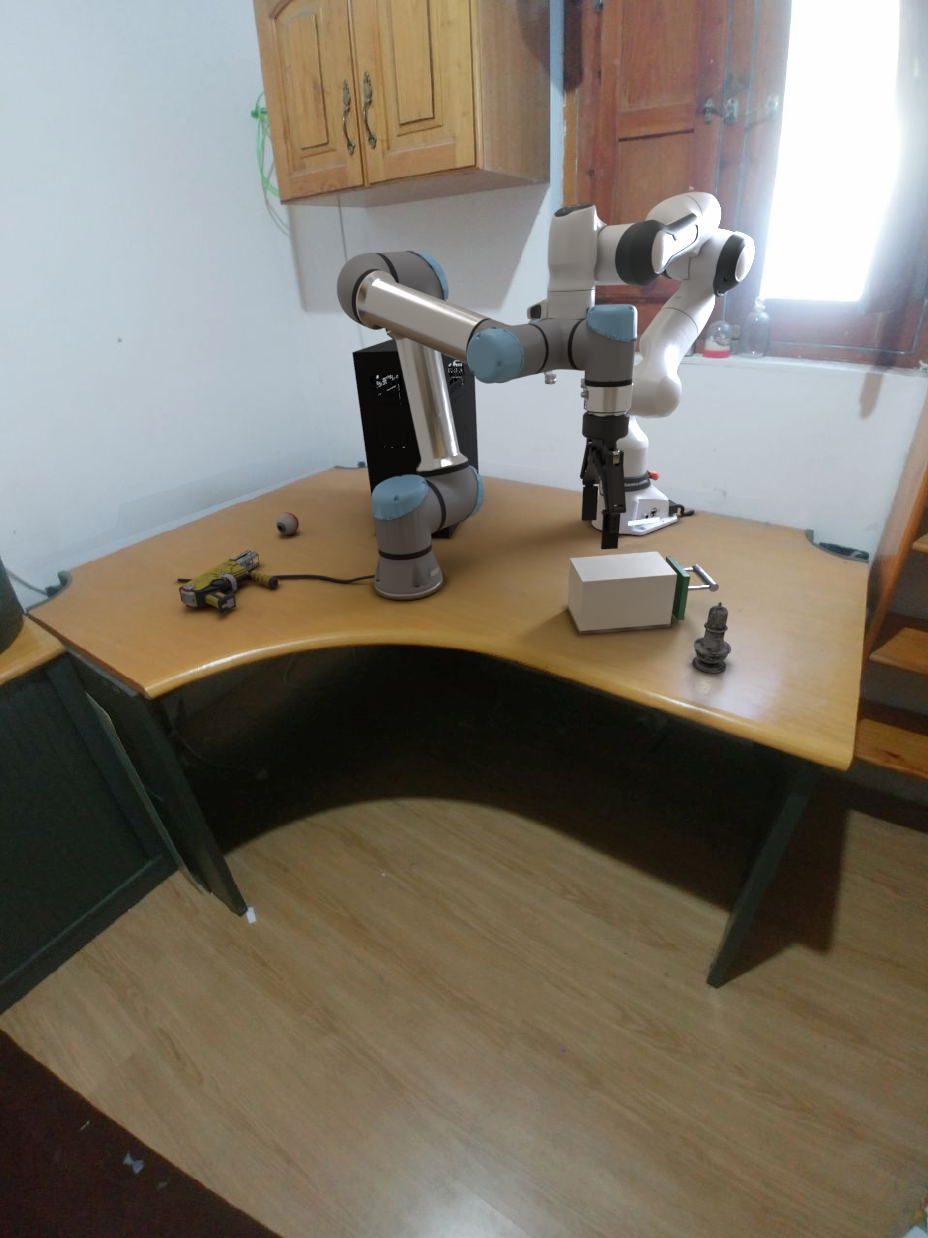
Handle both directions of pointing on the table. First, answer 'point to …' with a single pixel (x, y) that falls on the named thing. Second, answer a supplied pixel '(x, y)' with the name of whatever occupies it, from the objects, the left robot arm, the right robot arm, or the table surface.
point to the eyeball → (287, 523)
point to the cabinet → (620, 592)
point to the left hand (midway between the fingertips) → (598, 533)
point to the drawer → (687, 585)
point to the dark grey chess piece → (713, 642)
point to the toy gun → (223, 583)
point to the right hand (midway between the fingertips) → (567, 386)
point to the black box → (407, 414)
